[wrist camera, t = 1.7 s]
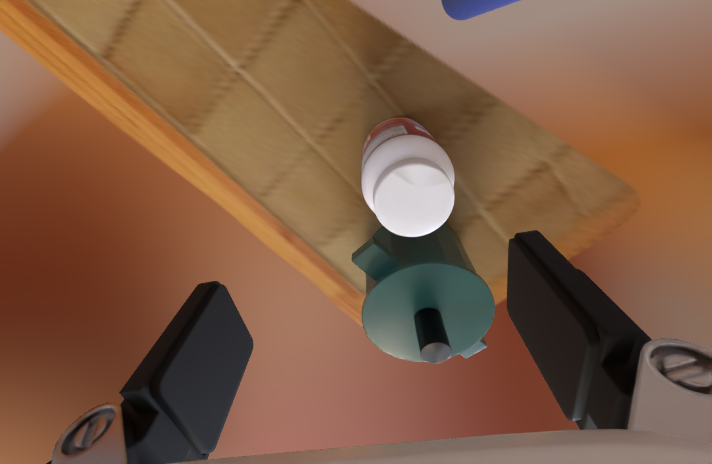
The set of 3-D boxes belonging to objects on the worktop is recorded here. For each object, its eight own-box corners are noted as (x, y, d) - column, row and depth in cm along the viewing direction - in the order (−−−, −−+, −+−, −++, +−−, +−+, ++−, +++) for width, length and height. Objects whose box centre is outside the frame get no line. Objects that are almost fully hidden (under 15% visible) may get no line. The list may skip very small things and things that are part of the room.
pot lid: (437, 229, 23) (453, 267, 19) (515, 310, 26) (542, 356, 22) (335, 306, 27) (330, 350, 23) (415, 367, 30) (423, 415, 26)
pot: (401, 175, 29) (413, 216, 22) (493, 273, 34) (528, 332, 27) (328, 239, 32) (317, 292, 25) (421, 319, 38) (435, 382, 30)
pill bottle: (442, 166, 28) (483, 223, 19) (381, 196, 30) (389, 263, 20) (415, 101, 26) (446, 128, 16) (349, 137, 27) (341, 181, 18)
